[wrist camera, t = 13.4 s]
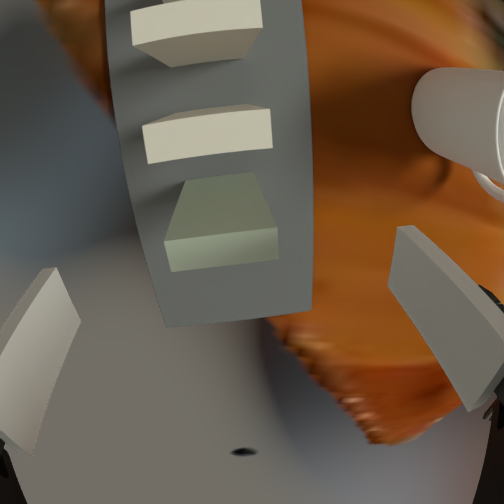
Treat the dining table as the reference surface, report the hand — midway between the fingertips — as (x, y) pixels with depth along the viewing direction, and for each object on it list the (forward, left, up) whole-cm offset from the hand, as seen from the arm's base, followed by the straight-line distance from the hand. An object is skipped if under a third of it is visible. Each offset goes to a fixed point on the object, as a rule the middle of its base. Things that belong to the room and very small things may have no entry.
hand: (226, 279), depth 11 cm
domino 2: (-5, 0, -13) cm, 14 cm away
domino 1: (-10, 0, -13) cm, 16 cm away
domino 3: (0, 0, -13) cm, 13 cm away
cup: (-4, +21, -14) cm, 25 cm away
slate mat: (-8, 0, -14) cm, 16 cm away
